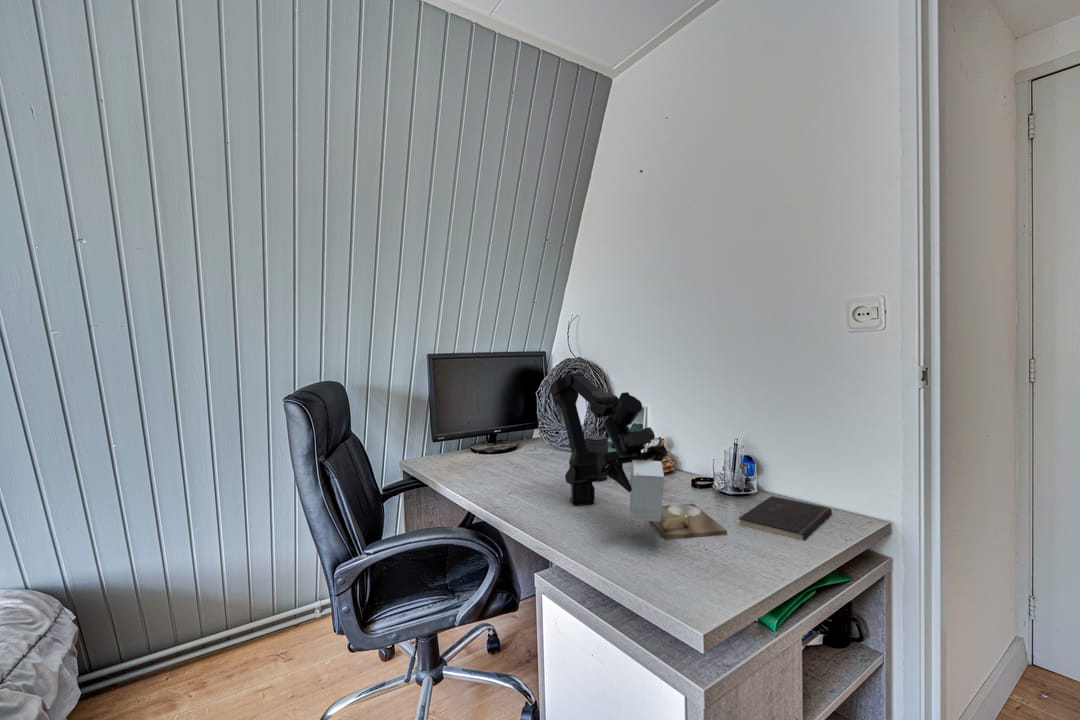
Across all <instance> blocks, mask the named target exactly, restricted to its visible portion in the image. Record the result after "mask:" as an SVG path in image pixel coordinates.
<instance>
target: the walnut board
mask: <svg viewBox="0 0 1080 720" xmlns="http://www.w3.org/2000/svg"><path fill="white" fill-rule="evenodd" d="M683 508H687V513H688V517H689V520H688V528H685V527H684V521H682V522H677V523H672V524H667V532H664V531H663V521H664V519H668V518H673V517H679V516H683ZM648 522H649V523H650V524H651V526H653V528H654V527H655V528H654V529H655V530H656V531H657V532H658V533H659V534H660V535H661V537H662V536H663V537H662V538H663V539H664V540H673V539H674V538H675V539H685V538H687V537H688V538H697V537H698V538H699V537H710V536H711V537H712V536H722V535H723V536H724V535H728V530H727V529H726V528H724V527H723V526H722V525H721V524H720V523H719V522H717V521H716V520H714V519H713V518H712V517H711V516H709V515H708V513H706V512H705V511H703V510H702V509H701V508H700V507H698V506H697V505H696V504H695V503H686V504H672V505H662V512H661V521H648Z"/></svg>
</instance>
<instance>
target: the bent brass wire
mask: <svg viewBox="0 0 1080 720" xmlns="http://www.w3.org/2000/svg"><path fill="white" fill-rule="evenodd" d="M688 520H689V517H688V513H687V508H683V516H679V517H673V518H668V519H664V521H663V531H664V532H667V524H672V523H677V522H682V521H684V527H685V528H688Z"/></svg>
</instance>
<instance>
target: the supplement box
mask: <svg viewBox="0 0 1080 720" xmlns="http://www.w3.org/2000/svg"><path fill="white" fill-rule="evenodd" d="M663 467H664V466H663V461H662V462H661V461H646V460H632V462H631V472H630V473H631V474H630V475H631V476H630V485H631V488H632V491H631V492H629V493H630V495H629V511H630V513H629V514H630V520H634V521H635V520H636V521H644V522H645V521H646V522H647V521H648V522H649V521H661V512H662V506H663V498H664V497H663V496H664V482H665V472H664V468H663Z"/></svg>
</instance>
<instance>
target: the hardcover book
mask: <svg viewBox="0 0 1080 720" xmlns="http://www.w3.org/2000/svg"><path fill="white" fill-rule="evenodd" d="M831 514H833V511H832V509H831V508H830V507H829V506H828V507H827V506H822V505H817V504H811V503H807V502H802V501H797V500H793V499H787V498H785V497H783V498H782V497H777V496H773V495H771V496H769V497H767V498H766V499H765V500H763V501H762V502H760V503H759V504H757V505H756V506H754V507H753V508H751V509H750V510H748V511H747V512H746V513H743V514H742V515H741V516H739V517H738V519H737V520H739V523H740V524H739V525H740V526H745V527H749V528H753V529H756V530H761V531H763V532H768V533H773V534H776V535H781V536H784V537H789V538H791V537H792V539H795V538H796V540H799V539H802V540H801V541H803V540H804V541H805V540H806V539H807V538H809V537H810V536H809V535H810V534H811V533H812V532H813V531H814V530H815V529H816V528H817V527H818V526H819V525H820V524H821V523H822V522H823V523H825V521H826V520H828V518H827V517H829V516H830V515H831ZM831 516H832V515H831ZM831 516H830V517H831ZM830 517H829V518H830ZM825 519H826V520H825ZM824 520H825V521H824ZM823 523H822V524H823ZM822 524H821V525H822ZM821 525H820V526H821ZM820 526H819V527H820ZM819 527H818V528H819ZM818 528H817V529H818ZM817 529H816V530H817ZM816 530H815V531H816ZM815 531H814V532H815ZM814 532H813V533H814ZM813 533H812V534H813ZM812 534H811V535H812ZM808 536H809V537H808Z"/></svg>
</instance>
